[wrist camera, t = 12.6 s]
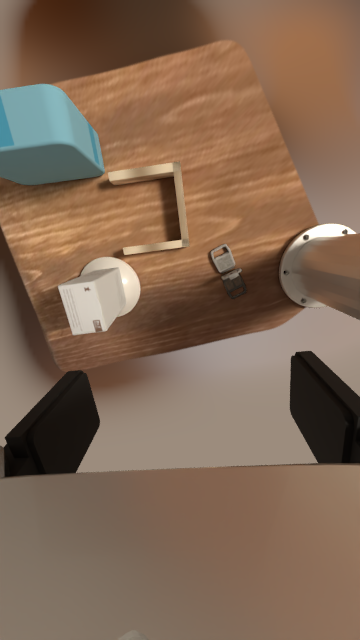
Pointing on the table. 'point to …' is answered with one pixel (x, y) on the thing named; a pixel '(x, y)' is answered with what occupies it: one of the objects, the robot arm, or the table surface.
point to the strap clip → (225, 264)
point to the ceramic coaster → (127, 275)
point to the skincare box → (93, 300)
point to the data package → (45, 137)
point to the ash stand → (175, 172)
